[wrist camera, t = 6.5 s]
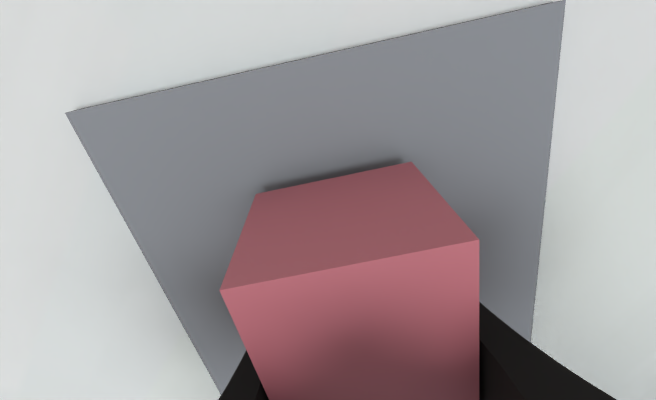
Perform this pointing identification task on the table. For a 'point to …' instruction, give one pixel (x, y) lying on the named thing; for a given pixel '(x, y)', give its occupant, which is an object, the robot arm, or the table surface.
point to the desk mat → (340, 154)
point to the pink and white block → (358, 290)
